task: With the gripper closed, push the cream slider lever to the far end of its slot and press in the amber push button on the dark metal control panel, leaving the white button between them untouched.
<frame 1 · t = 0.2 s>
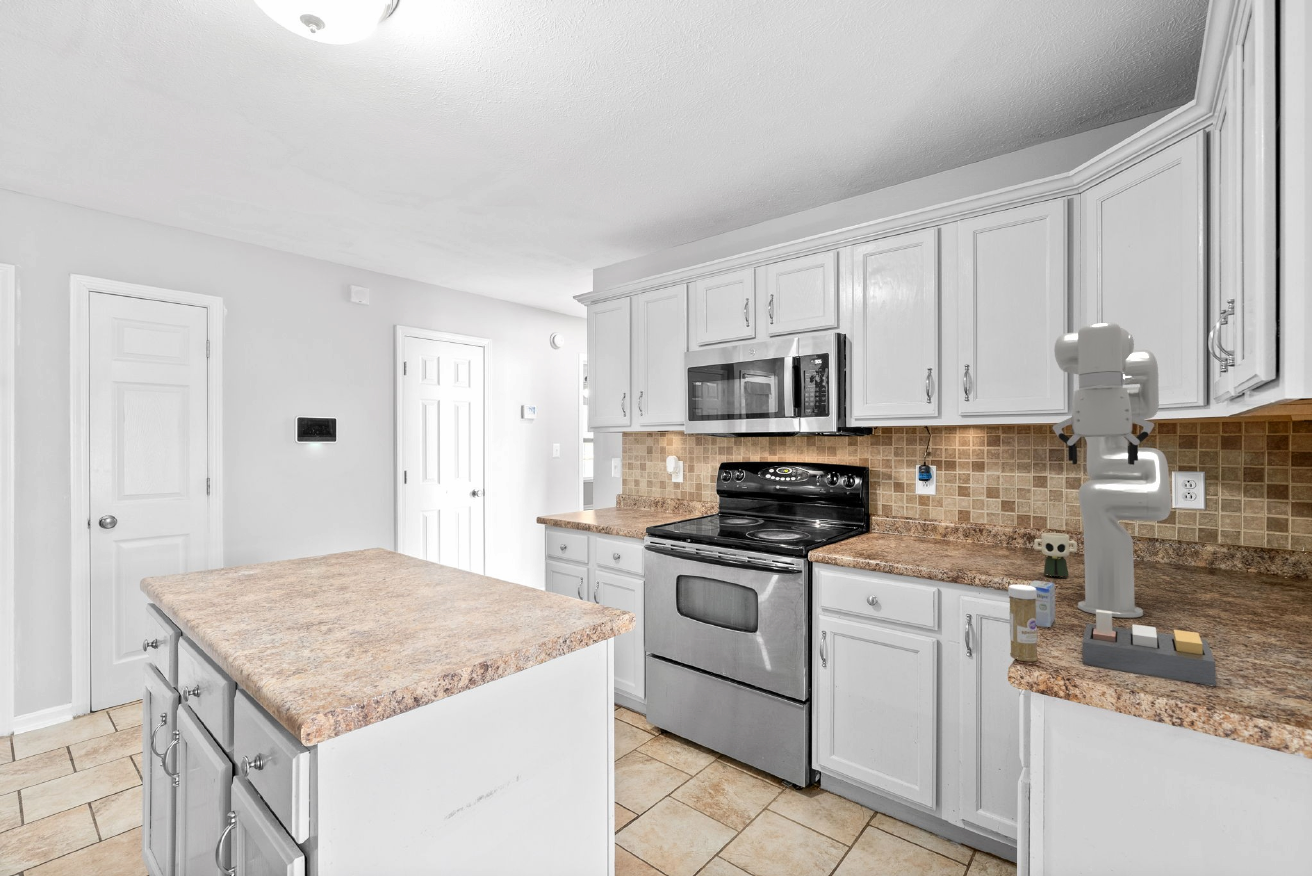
hand: (1102, 464, 129), 36 cm above the worktop, tool pointing down, fingers open, 9 cm apart
sprinkles bottle: (1023, 659, 116), on the worktop
control panel: (1145, 662, 113), on the worktop
medicine box: (1041, 623, 140), on the worktop
character mug: (1056, 577, 189), on the worktop
amber button: (1187, 641, 109), point 5 cm above the worktop, slide at 0.0 cm
slider lever: (1104, 624, 118), point 6 cm above the worktop, slide at 0.0 cm
white button: (1144, 635, 113), point 5 cm above the worktop, slide at 0.0 cm
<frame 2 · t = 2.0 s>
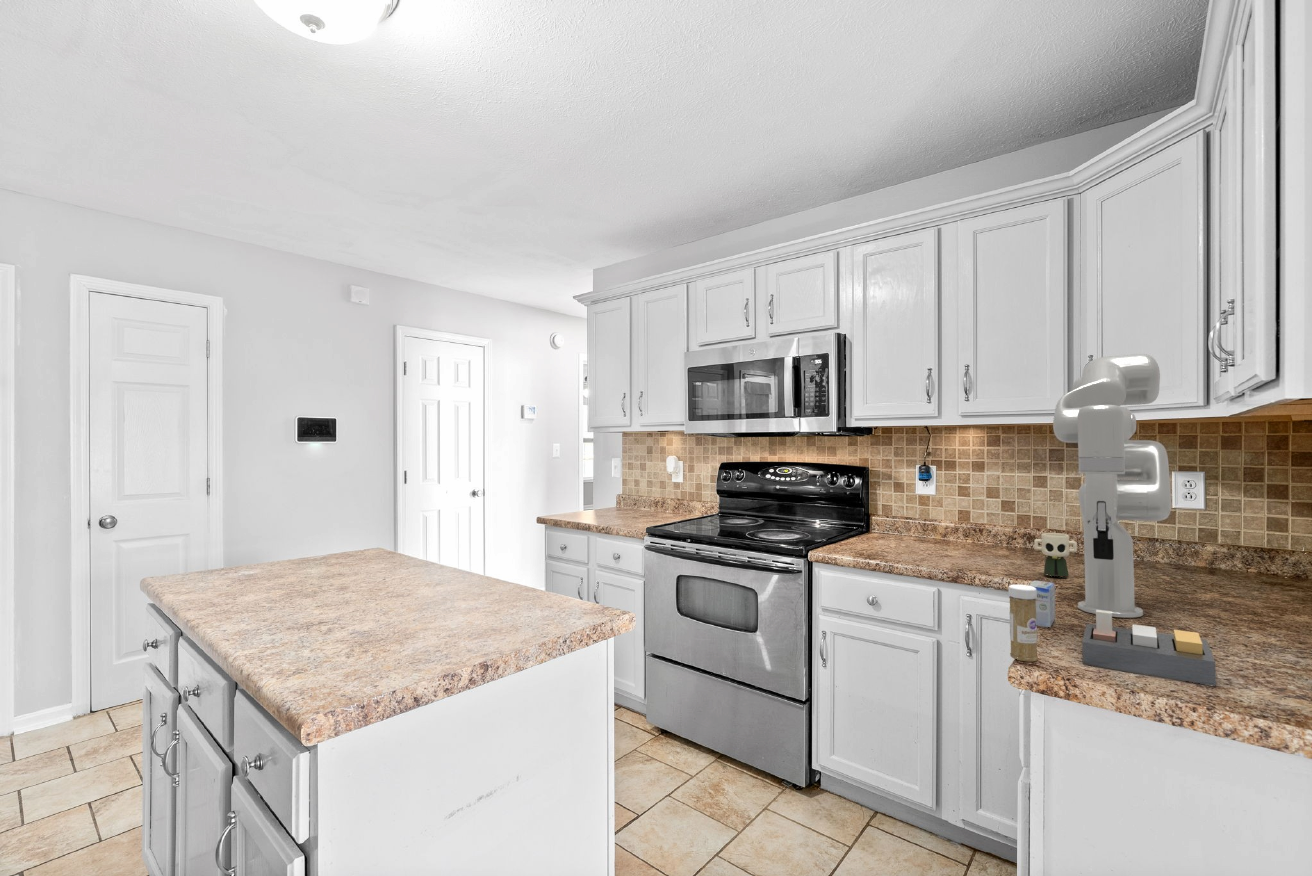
hand: (1103, 558, 123), 17 cm above the worktop, tool pointing down, fingers closed
nothing on the worktop moved.
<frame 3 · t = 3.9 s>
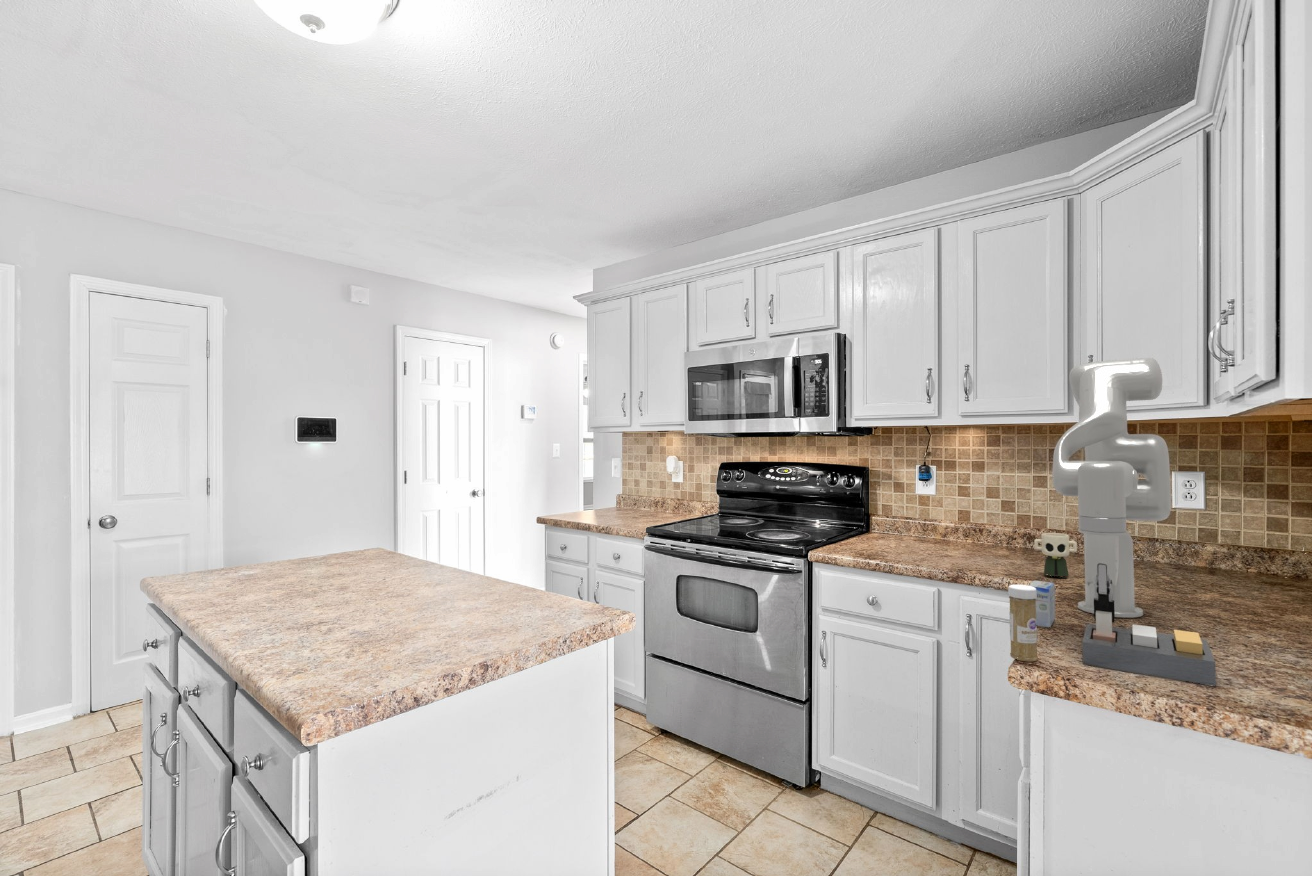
hand: (1104, 620, 120), 6 cm above the worktop, tool pointing down, fingers closed
slider lever: (1104, 625, 117), point 6 cm above the worktop, slide at 1.0 cm, touching gripper
everything else where it was.
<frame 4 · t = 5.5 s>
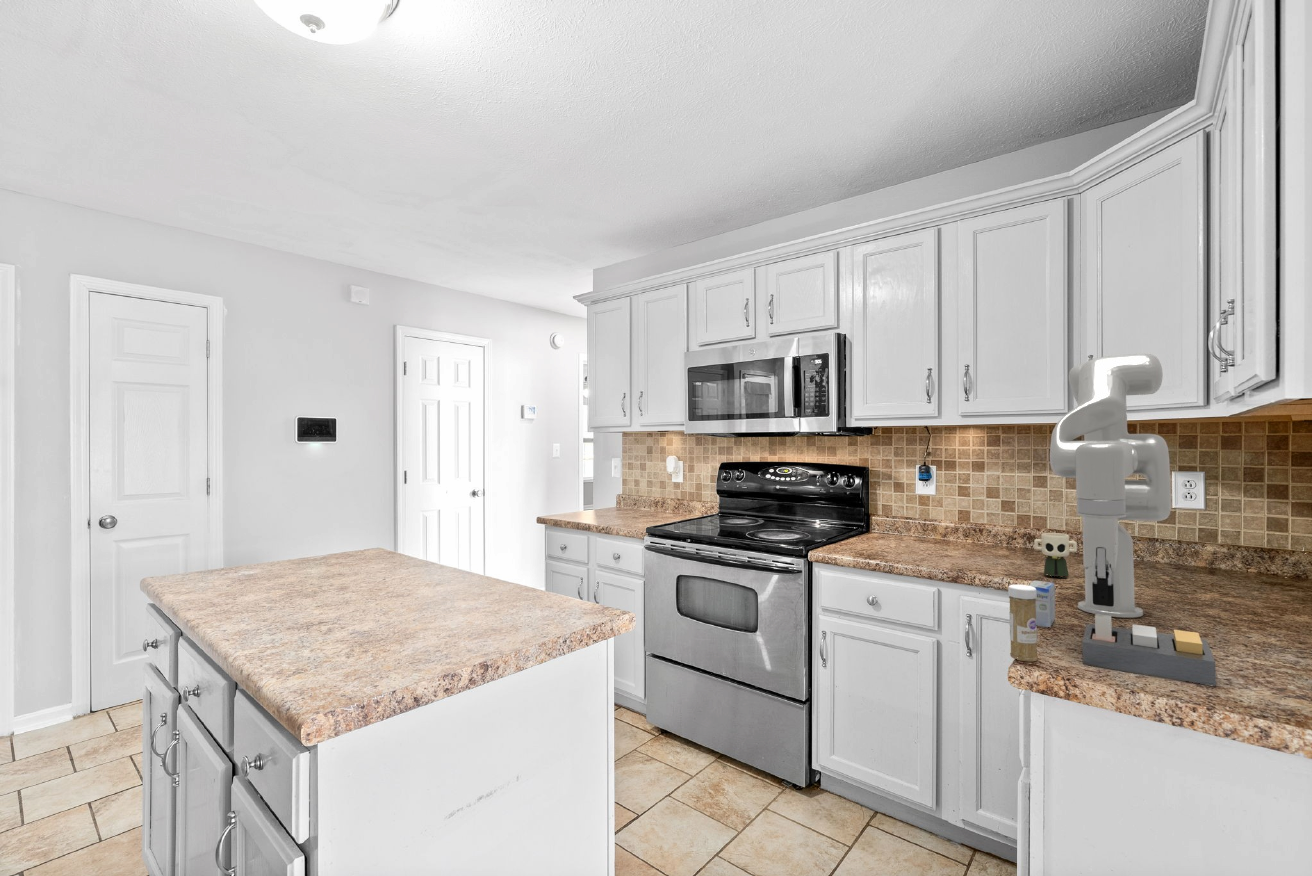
hand: (1103, 604, 117), 10 cm above the worktop, tool pointing down, fingers closed
slider lever: (1103, 629, 115), point 6 cm above the worktop, slide at 4.1 cm
everything else where it was.
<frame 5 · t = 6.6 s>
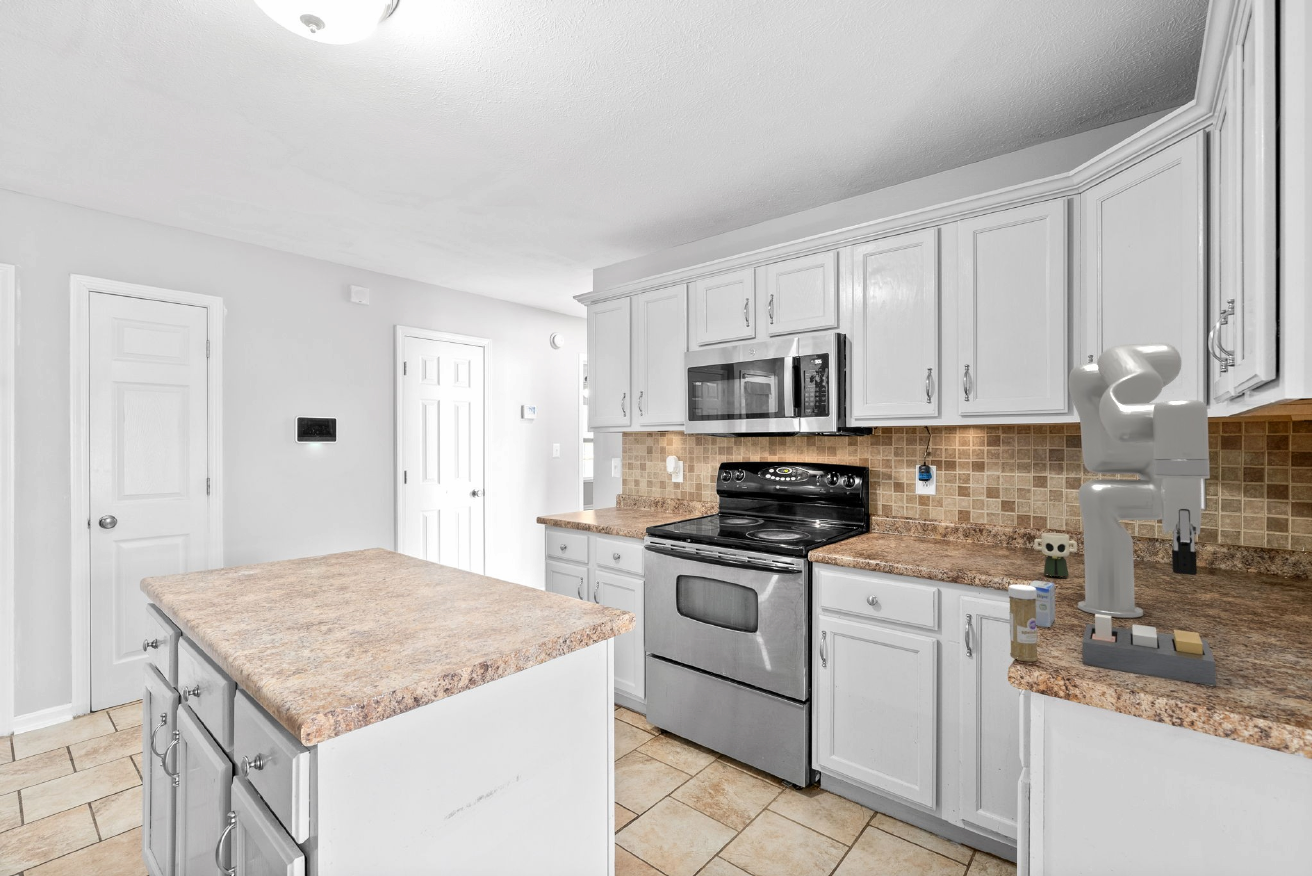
hand: (1184, 573, 110), 17 cm above the worktop, tool pointing down, fingers closed
nothing on the worktop moved.
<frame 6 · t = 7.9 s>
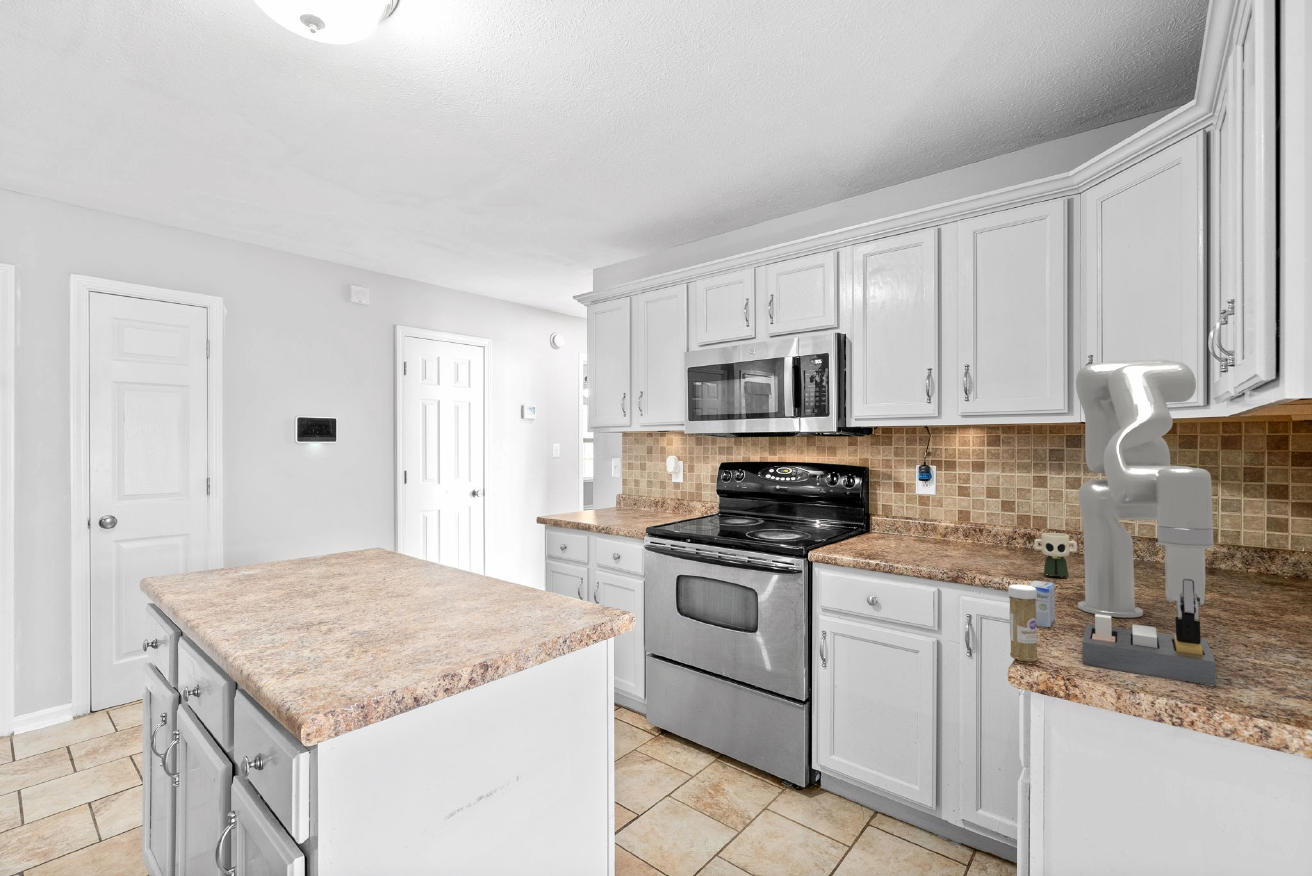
hand: (1188, 641, 109), 5 cm above the worktop, tool pointing down, fingers closed
amber button: (1187, 646, 109), point 4 cm above the worktop, slide at 0.9 cm, touching gripper
everything else where it was.
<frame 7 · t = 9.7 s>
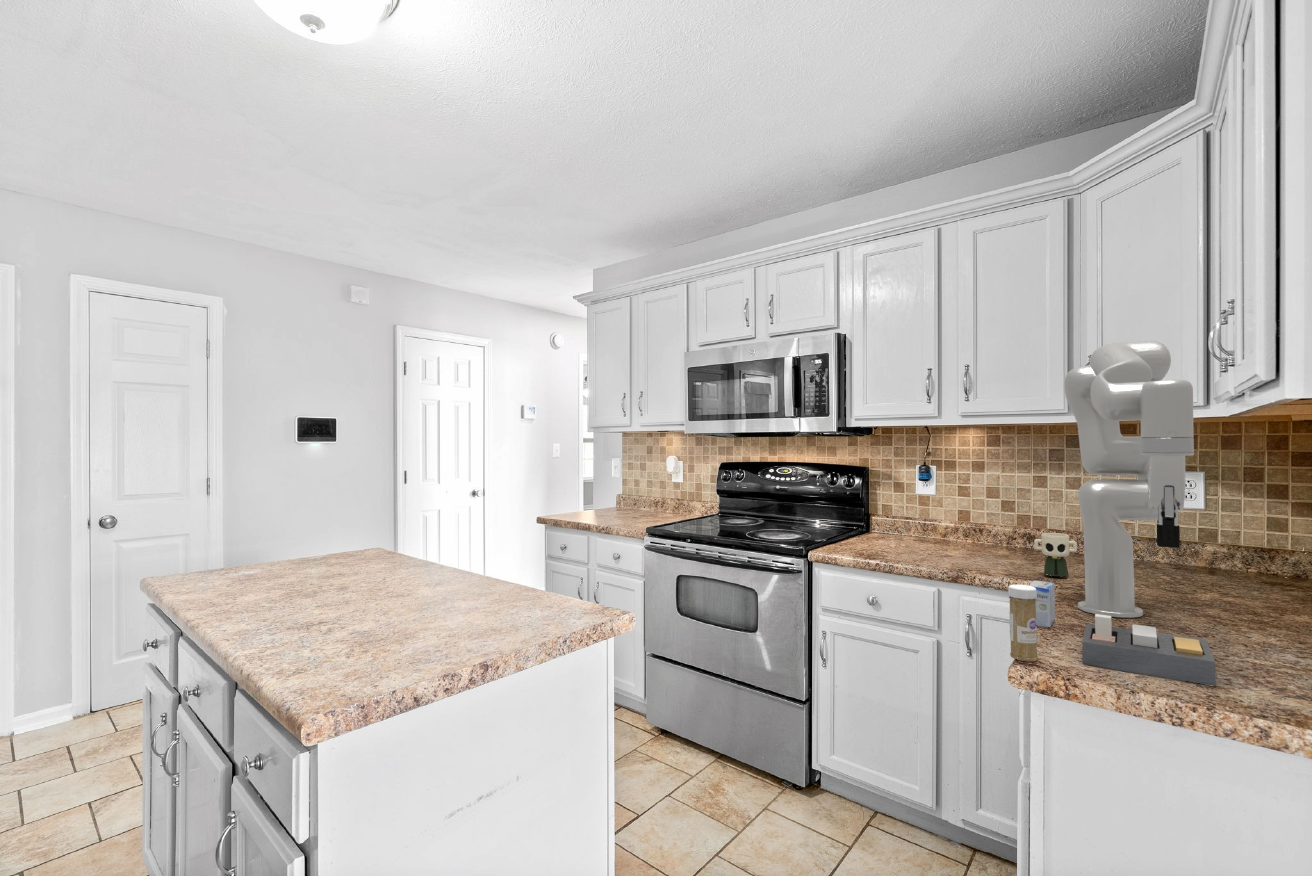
hand: (1168, 546, 114), 21 cm above the worktop, tool pointing down, fingers closed
amber button: (1187, 648, 109), point 4 cm above the worktop, slide at 1.3 cm
everything else where it was.
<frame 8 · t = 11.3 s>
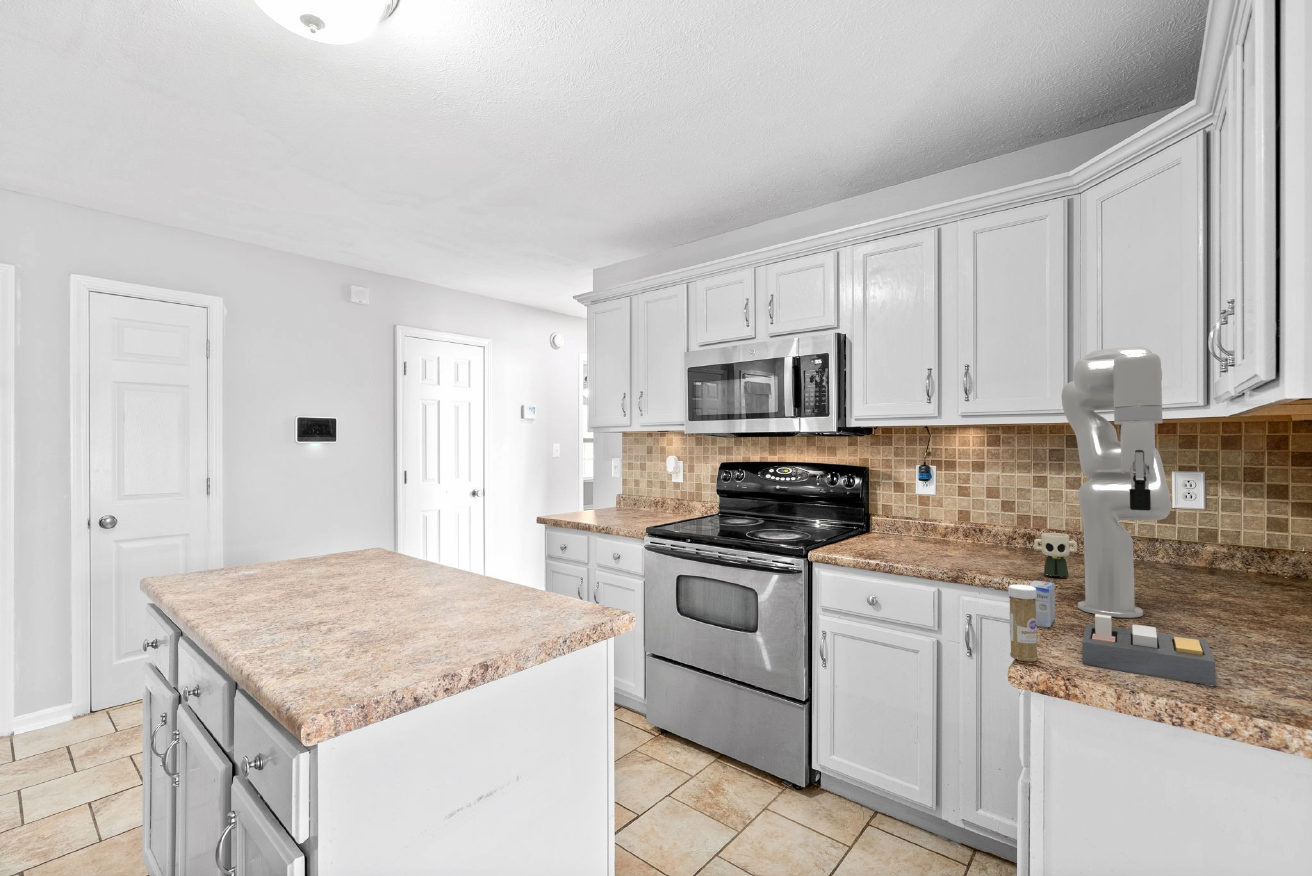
hand: (1140, 509, 121), 27 cm above the worktop, tool pointing down, fingers closed
nothing on the worktop moved.
at the end: slider lever slide at 4.1 cm; amber button slide at 1.3 cm; white button slide at 0.0 cm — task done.
